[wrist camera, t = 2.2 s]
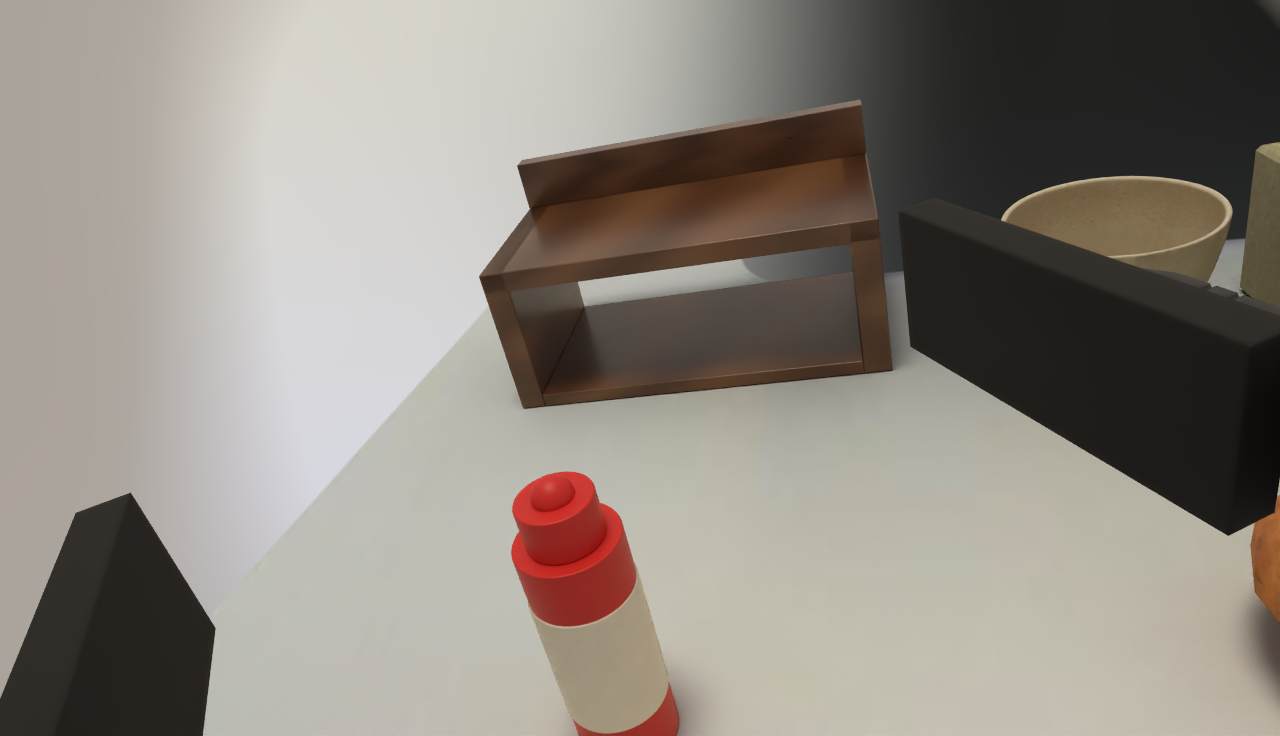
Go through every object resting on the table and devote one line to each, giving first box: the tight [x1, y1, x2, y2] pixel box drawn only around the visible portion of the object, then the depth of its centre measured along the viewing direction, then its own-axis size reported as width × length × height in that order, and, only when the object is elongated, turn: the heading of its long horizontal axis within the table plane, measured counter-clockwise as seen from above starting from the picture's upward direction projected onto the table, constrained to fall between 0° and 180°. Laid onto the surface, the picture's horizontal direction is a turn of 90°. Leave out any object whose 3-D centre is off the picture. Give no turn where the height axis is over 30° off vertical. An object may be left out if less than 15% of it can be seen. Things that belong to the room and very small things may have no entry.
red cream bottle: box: [511, 472, 679, 736], centre depth 29 cm, size 4×4×11 cm
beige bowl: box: [1001, 176, 1232, 283], centre depth 45 cm, size 10×10×7 cm
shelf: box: [479, 100, 892, 408], centre depth 53 cm, size 22×12×12 cm, turn 81°
